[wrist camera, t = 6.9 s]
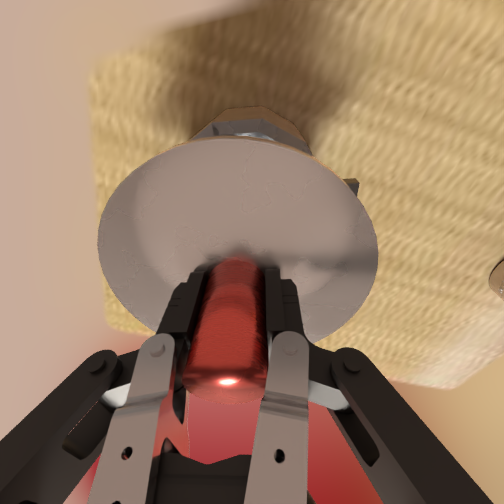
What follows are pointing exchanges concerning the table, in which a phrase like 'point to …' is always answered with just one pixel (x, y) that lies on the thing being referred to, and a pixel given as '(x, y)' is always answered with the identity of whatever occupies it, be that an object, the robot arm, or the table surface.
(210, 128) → the pot
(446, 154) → the table surface
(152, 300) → the lid
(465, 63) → the table surface
